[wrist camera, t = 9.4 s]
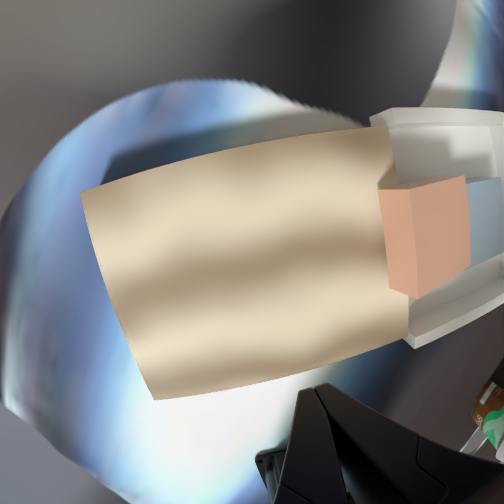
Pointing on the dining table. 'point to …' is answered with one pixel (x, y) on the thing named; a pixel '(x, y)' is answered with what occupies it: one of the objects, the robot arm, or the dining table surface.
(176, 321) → the birch plate
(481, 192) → the slate tile
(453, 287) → the box
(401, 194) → the terracotta tile
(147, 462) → the dining table surface
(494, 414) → the food container
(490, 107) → the dining table surface
